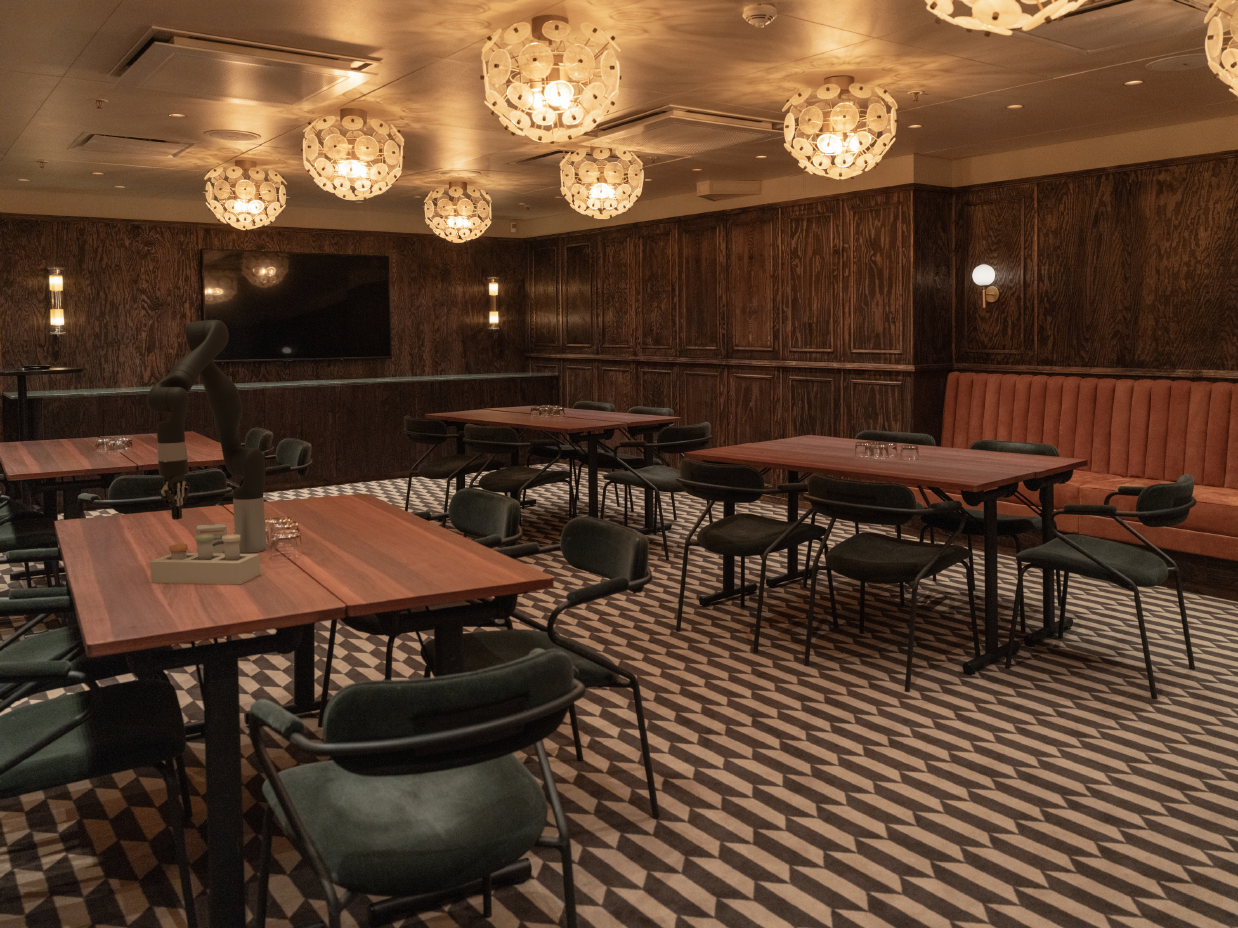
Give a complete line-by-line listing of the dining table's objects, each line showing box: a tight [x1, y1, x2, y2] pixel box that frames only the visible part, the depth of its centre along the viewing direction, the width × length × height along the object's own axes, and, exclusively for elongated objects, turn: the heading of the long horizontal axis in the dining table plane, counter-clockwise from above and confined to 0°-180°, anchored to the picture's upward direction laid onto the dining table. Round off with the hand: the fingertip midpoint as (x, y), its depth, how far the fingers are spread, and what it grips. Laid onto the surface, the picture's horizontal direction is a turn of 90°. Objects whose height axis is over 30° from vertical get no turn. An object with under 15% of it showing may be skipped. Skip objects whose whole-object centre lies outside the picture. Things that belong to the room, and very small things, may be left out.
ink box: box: [195, 523, 228, 553], centre depth 297 cm, size 9×5×12 cm, turn 114°
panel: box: [149, 552, 261, 586], centre depth 278 cm, size 12×26×6 cm, turn 84°
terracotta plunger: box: [168, 543, 189, 560], centre depth 279 cm, size 5×5×8 cm
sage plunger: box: [194, 534, 214, 560], centre depth 278 cm, size 5×5×8 cm
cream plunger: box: [222, 533, 241, 561], centre depth 277 cm, size 5×5×8 cm
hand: (177, 519), depth 277 cm, fingers closed
